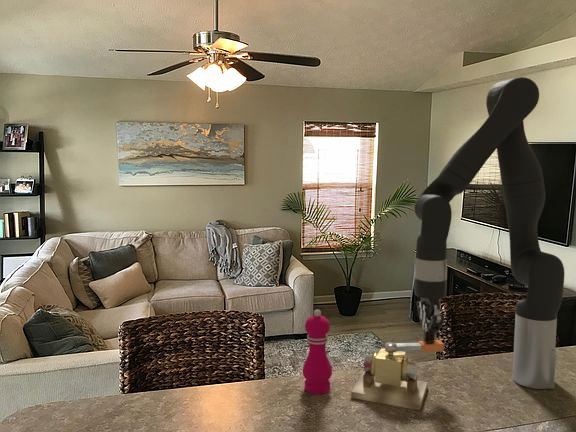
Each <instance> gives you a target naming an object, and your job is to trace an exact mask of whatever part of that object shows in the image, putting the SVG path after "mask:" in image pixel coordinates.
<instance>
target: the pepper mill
mask: <svg viewBox="0 0 576 432" xmlns="http://www.w3.org/2000/svg"><path fill="white" fill-rule="evenodd" d="M330 328H331V327H330V322H329V320H328V318H326V316H324V315H322V312H321V310H320V309H315V310H313V315H311V316H309V317H308V318H307V319H306V320H305V323H304V330H305V332H306V333H307V335H306V338H307V339H306V341H307V343H308V345H309V346H308V354H307V356H306V359H305V360H304V362H303V366H302V375H303V377H304V378H305V380H304V390H305V391H306V392H307V393H310V394H313V395H323V394H326V393H328V392H329V391H330V389H331V381H330V379H331V377H332V375H333V368H332V365H331V362H330V360H329V358H328V356H327V352H326V350H327V349H326V345H327V343H328V333H329V331H330Z"/></svg>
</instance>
